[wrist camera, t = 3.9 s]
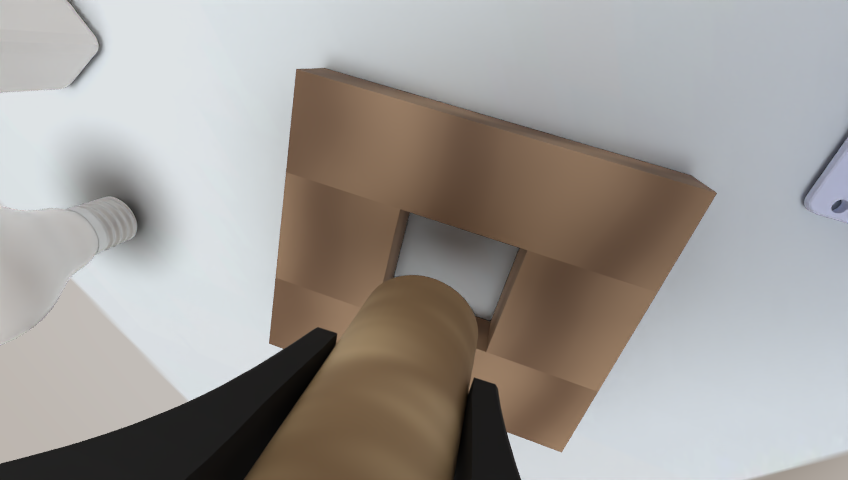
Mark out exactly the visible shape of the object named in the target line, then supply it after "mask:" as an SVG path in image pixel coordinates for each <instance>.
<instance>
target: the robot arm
mask: <svg viewBox="0 0 848 480" xmlns="http://www.w3.org/2000/svg"><path fill="white" fill-rule="evenodd" d="M839 200H841V201H842V203H841V205H840V206H839V207H838V208H837V209H834V210H832V209H831V207H832V205H833V204H834V203H835V202H836V201H839ZM804 205H805V207H806V208H807V209H808V210H810V211H811V212H813V213H815V214H818V215H821V216H825V217H828V218H831V219H835V220H838V221H842V222H845V223H848V137H847V139H846V140H845V142H844V143H843V145H842V146H841V147H840V149H839V150H838V152H837V153H836V155H835V156H834V157H833V159H832V160H831V162H830V163H829V164H828V166H827V167H826V169H825V170H824V172H823V173H822V174H821V176H820V177H819V179H818V180H817V181H816V183H815V184H814V186H813V187H812V189H811V190H810V191H809V193H808V194H807V196H806V198H805V200H804ZM336 340H337V333H335V332H332V331H329V330H326V329H323V328H320V327H317V328H315V329H313V330H312V331H310V332H309V333H307V334H306V335H304V336H303V337H301V338H300V339H298V340H297V341H295V342H294V343H292V344H291V345H289V346H288V347H286V348H285V349H283V350H281V351H280V352H278V353H277V354H275V355H274V356H272V357H270V358H269V359H267V360H265V361H264V362H262V363H261V364H259V365H257V366H256V367H254V368H252V369H251V370H249V371H247V372H245V373H243V374H242V375H240V376H238V377H236V378H234V379H233V380H231V381H229V382H227V383H225V384H224V385H222V386H220V387H218V388H216V389H214V390H212V391H210V392H208V393H206V394H204V395H202V396H200V397H197V398H195V399H193V400H191V401H189V402H187V403H185V404H182V405H180V406H178V407H175V408H173V409H171V410H168V411H166V412H163V413H161V414H158V415H156V416H153V417H151V418H148V419H146V420H143V421H141V422H138V423H135V424H133V425H130V426H127V427H124V428H121V429H119V430H116V431H113V432H110V433H107V434H104V435H101V436H98V437H95V438H91V439H88V440H85V441H82V442H79V443H75V444H72V445H69V446H65V447H62V448H58V449H54V450H51V451H47V452H43V453H39V454H36V455H32V456H29V457H25V458H21V459H17V460H13V461H9V462H5V463H1V464H0V480H244V478H245V477H246V476H247V474H248V473H249V471H250V470H251V468H252V467H253V465H254V464H255V462H256V461H257V459H258V458H259V457H260V455H261V454H262V452H263V451H264V449H265V448H266V446H267V445H268V443H269V442H270V440H271V439H272V438H273V436H274V435H275V433H276V432H277V430H278V429H279V427H280V426H281V424H282V423H283V421H284V420H285V419H286V417H287V416H288V414H289V413H290V411H291V410H292V408H293V407H294V405H295V404H296V402H297V401H298V400H299V398H300V397H301V395H302V394H303V392H304V391H305V389H306V388H307V386H308V385H309V383H310V382H311V381H312V379H313V378H314V376H315V375H316V373H317V372H318V370H319V369H320V367H321V366H322V364H323V363H324V362H325V360H326V359H327V357H328V356H329V354H330V353H331V351H332V350H333V348H334V347H335V345H336ZM453 480H521V478H520V475H519V472H518V469H517V466H516V463H515V460H514V456H513V453H512V449H511V446H510V442H509V439H508V435H507V431H506V427H505V423H504V419H503V415H502V410H501V405H500V399H499V392H498V388H497V386H496V384H493V383H490V382H487V381H484V380H481V379H478V378H475V377H474V378H473V381H472V384H471V387H470V390H469V393H468V398H467V404H466V410H465V415H464V421H463V427H462V433H461V438H460V444H459V450H458V456H457V461H456V467H455V473H454V479H453Z"/></svg>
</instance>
